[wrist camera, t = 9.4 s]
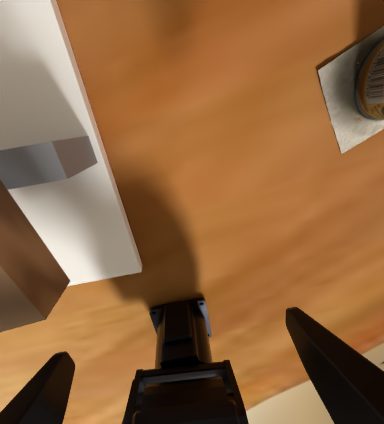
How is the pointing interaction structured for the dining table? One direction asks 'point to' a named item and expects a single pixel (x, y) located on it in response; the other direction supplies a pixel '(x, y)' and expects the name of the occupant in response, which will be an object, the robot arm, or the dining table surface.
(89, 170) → the balance stand
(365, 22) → the dining table surface
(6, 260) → the walnut bar
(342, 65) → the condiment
